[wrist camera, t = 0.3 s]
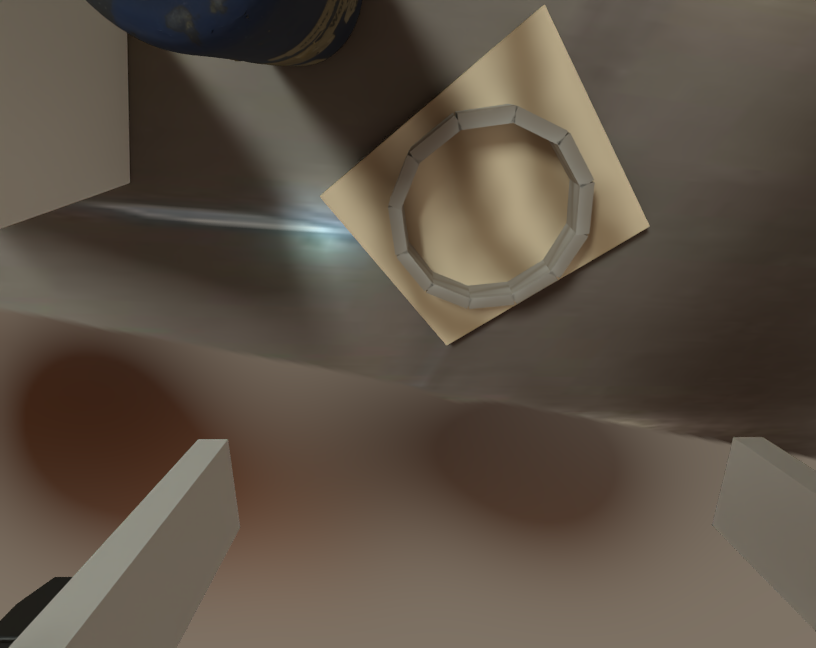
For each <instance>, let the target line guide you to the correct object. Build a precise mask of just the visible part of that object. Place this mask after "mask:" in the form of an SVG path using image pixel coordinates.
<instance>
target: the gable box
mask: <svg viewBox="0 0 816 648" xmlns="http://www.w3.org/2000/svg"><path fill="white" fill-rule="evenodd" d="M128 183H130V152H129V101H128V51H127V32H125V31H123V30H122V29H120V28H119V27H117V26H116V25H114V24H113V23H112V22H110V21H109V20H108V19H106V18H105V17H104V16H102V15H101V14H100V13H99V12H98V11H97V10H96V9H94V8H93V7H92V6H91V5H90V4H89V3H88V2H87V1H86V0H0V229H2V228H5V227H8V226H11V225H14V224H16V223H19V222H22V221H25V220H28V219H31V218H33V217H36V216H39V215H42V214H45V213H47V212H50V211H53V210H56V209H59V208H62V207H64V206H67V205H70V204H73V203H76V202H78V201H81V200H84V199H87V198H90V197H93V196H95V195H98V194H101V193H104V192H107V191H110V190H112V189H115V188H118V187H121V186H124V185H126V184H128Z"/></svg>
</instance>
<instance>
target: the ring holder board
mask: <svg viewBox="0 0 816 648" xmlns="http://www.w3.org/2000/svg"><path fill="white" fill-rule="evenodd" d="M320 197H321V199H322V200H323V201H324V202H325V203H326V205H327V206H328V207H329V208H330V209H331V210H332V212H333V213H334V214H335V215H336V216H337V217H338V219H339V220H340V221H341V222H342V223H343V224H344V226H345V227H346V228H347V229H348V230H349V232H350V233H351V234H352V235H353V236H354V237H355V239H356V240H357V241H358V242H359V243H360V244H361V246H362V247H363V248H364V249H365V250H366V251H367V253H368V254H369V255H370V256H371V257H372V258H373V260H374V261H375V262H376V263H377V264H378V266H379V267H380V268H381V269H382V270H383V271H384V273H385V274H386V275H387V276H388V277H389V278H390V280H391V281H392V282H393V283H394V284H395V285H396V287H397V288H398V289H399V290H400V291H401V292H402V294H403V295H404V296H405V297H406V298H407V300H408V301H409V302H410V303H411V304H412V305H413V307H414V308H415V309H416V310H417V311H418V312H419V314H420V315H421V316H422V317H423V318H424V319H425V321H426V322H427V323H428V324H429V325H430V326H431V328H432V329H433V330H434V331H435V332H436V334H437V335H438V336H439V337H440V338H441V339H442V341H443V342H444V343H445V344H446V345H448V344H450V343H452V342H453V341H455V340H457V339H459V338H460V337H462V336H464V335H465V334H467V333H469V332H471V331H472V330H474V329H476V328H477V327H479V326H481V325H482V324H484V323H486V322H488V321H489V320H491V319H493V318H494V317H496V316H498V315H500V314H501V313H503V312H505V311H506V310H508V309H510V308H511V307H513V306H515V305H517V304H518V303H520V302H522V301H523V300H525V299H527V298H528V297H530V296H532V295H534V294H535V293H537V292H539V291H540V290H542V289H544V288H546V287H547V286H549V285H551V284H552V283H554V282H556V281H557V280H559V279H561V278H563V277H564V276H566V275H568V274H569V273H571V272H573V271H575V270H576V269H578V268H580V267H581V266H583V265H585V264H586V263H588V262H590V261H592V260H593V259H595V258H597V257H598V256H600V255H602V254H603V253H605V252H607V251H609V250H610V249H612V248H614V247H615V246H617V245H619V244H621V243H622V242H624V241H626V240H627V239H629V238H631V237H632V236H634V235H636V234H638V233H639V232H641V231H643V230H644V229H646V228H648V227H650V226H649V224H648V222H647V220H646V217H645V215H644V213H643V211H642V209H641V207H640V205H639V203H638V201H637V198H636V196H635V194H634V192H633V190H632V188H631V186H630V184H629V182H628V179H627V177H626V175H625V173H624V171H623V169H622V167H621V165H620V163H619V160H618V158H617V156H616V154H615V152H614V150H613V148H612V146H611V144H610V141H609V139H608V137H607V135H606V133H605V131H604V129H603V127H602V124H601V122H600V120H599V118H598V116H597V114H596V112H595V110H594V108H593V105H592V103H591V101H590V99H589V97H588V95H587V93H586V91H585V89H584V86H583V84H582V82H581V80H580V78H579V76H578V74H577V72H576V70H575V67H574V65H573V63H572V61H571V59H570V57H569V55H568V53H567V51H566V48H565V46H564V44H563V42H562V40H561V38H560V36H559V34H558V32H557V29H556V27H555V25H554V23H553V21H552V19H551V17H550V15H549V13H548V10H547V8H546V6H545V5H544V6H542V7H540V8H539V9H538V10H537V11H536V12H534V13H533V14H532V15H531V16H530V17H529V18H527V19H526V20H525V21H524V22H523V23H522V24H520V25H519V26H518V27H517V28H516V29H515V30H513V31H512V32H511V33H510V34H509V35H508V36H506V37H505V38H504V39H503V40H502V41H501V42H499V43H498V44H497V45H496V46H495V47H493V48H492V49H491V50H490V51H489V52H488V53H486V54H485V55H484V56H483V57H482V58H481V59H479V60H478V61H477V62H476V63H475V64H474V65H472V66H471V67H470V68H469V69H468V70H467V71H465V72H464V73H463V74H462V75H461V76H460V77H458V78H457V79H456V80H455V81H454V82H452V83H451V84H450V85H449V86H448V87H447V88H445V89H444V90H443V91H442V92H441V93H440V94H438V95H437V96H436V97H435V98H434V99H433V100H431V101H430V102H429V103H428V104H427V105H426V106H424V107H423V108H422V109H421V110H420V111H419V112H417V113H416V114H415V115H414V116H413V117H412V118H410V119H409V120H408V121H407V122H406V123H404V124H403V125H402V126H401V127H400V128H399V129H397V130H396V131H395V132H394V133H393V134H392V135H390V136H389V137H388V138H387V139H386V140H385V141H383V142H382V143H381V144H380V145H379V146H378V147H376V148H375V149H374V150H373V151H372V152H371V153H369V154H368V155H367V156H366V157H365V158H363V159H362V160H361V161H360V162H359V163H358V164H356V165H355V166H354V167H353V168H352V169H351V170H349V171H348V172H347V173H346V174H345V175H344V176H342V177H341V178H340V179H339V180H338V181H337V182H335V183H334V184H333V185H332V186H331V187H330V188H328V189H327V190H326V191H325V192H324V193H323V194H322V195H321V196H320Z"/></svg>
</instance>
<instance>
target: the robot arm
mask: <svg viewBox="0 0 816 648" xmlns="http://www.w3.org/2000/svg"><path fill="white" fill-rule="evenodd" d="M712 526H713V527H714V528H715V529H716V530H717V531H718V532H719V533H720V534H721V535H722V536H723V537H724V538H725V539H726V540H727V541H728V542H729V543H730V544H731V545H732V546H733V547H734V548H735V549H736V550H737V551H738V552H739V553H740V554H741V555H742V556H743V557H744V558H745V559H746V561H748V563H749V564H750V565H751V566H752V567H753V568H754V569H755V570H756V571H757V572H758V573H759V574H760V575H761V576H762V577H763V578H764V579H765V580H766V581H767V582H768V583H769V584H770V585H771V586H772V587H773V588H774V589H775V590H776V591H777V592H778V593H779V594H780V595H781V596H782V597H783V598H784V600H786V602H788V604H789V605H790V606H791V607H792V608H793V609H794V610H795V611H796V612H797V613H798V614H799V615H800V616H801V617H802V618H803V619H804V620H805V621H806V622H807V623H808V624H809V625H810V626H811V627H812V628H813V629H814V630H815V631H816V471H815V470H814V469H812V468H811V467H809V466H807V465H806V464H804V463H803V462H801V461H800V460H798V459H796V458H795V457H793V456H792V455H790V454H789V453H787V452H785V451H784V450H782V449H781V448H779V447H777V446H776V445H774V444H773V443H771V442H770V441H768V440H766V439H765V438H763V437H733V441H732V445H731V449H730V453H729V457H728V461H727V465H726V469H725V473H724V478H723V482H722V486H721V490H720V494H719V498H718V502H717V506H716V510H715V515H714V519H713V523H712ZM239 528H240V523H239V516H238V509H237V501H236V494H235V487H234V480H233V473H232V465H231V458H230V451H229V444H228V439H216V440H215V439H207V440H206V439H205V440H204V439H200V440H197V442H196V443H195V444H194V445H193V446H192V447H191V448H190V449H189V450H188V451H187V452H186V453H185V455H184V456H183V457H182V458H181V459H180V460H179V461H178V462H177V463H176V464H175V466H174V467H173V468H172V469H171V470H170V471H169V472H168V473H167V474H166V475H165V477H164V478H163V479H162V480H161V481H160V482H159V483H158V484H157V485H156V486H155V487H154V489H153V490H152V491H151V492H150V493H149V494H148V495H147V496H146V498H144V500H143V501H142V502H141V503H140V504H139V505H138V506H137V507H136V508H135V510H134V511H133V512H132V513H131V514H130V515H129V516H128V517H127V518H126V519H125V520H124V522H123V523H122V524H121V525H120V526H119V527H118V528H117V529H116V530H115V531H114V533H113V534H112V535H111V536H110V537H109V538H108V539H107V540H106V541H105V542H104V543H103V545H102V546H101V547H100V548H99V549H98V550H97V551H96V552H95V553H94V554H93V555H92V557H91V558H90V559H89V560H88V561H87V562H86V563H85V564H84V565H83V566H82V568H81V569H80V570H79V571H78V572H77V573H76V574H75V575H74V576H73V577H55V578H53V579H52V580H50V581H49V582H47V583H46V584H44V585H43V586H42V587H40V588H39V589H37V590H36V591H34V592H33V593H32V594H30V595H29V596H27V597H26V598H25V599H23V600H22V601H20V602H19V603H18V604H16V605H15V607H13V608H12V609H11V610H10V612H8V614H6V616H5V617H4V618H3V619H2V620H1V621H0V648H177V646H178V644H179V642H180V641H181V639H182V637H183V635H184V633H185V631H186V629H187V627H188V625H189V623H190V622H191V620H192V617H193V616H194V614H195V612H196V610H197V608H198V606H199V605H200V603H201V601H202V599H203V597H204V595H205V593H206V591H207V589H208V587H209V586H210V584H211V582H212V580H213V578H214V576H215V574H216V572H217V570H218V568H219V566H220V565H221V563H222V561H223V559H224V557H225V555H226V553H227V551H228V549H229V547H230V545H231V544H232V542H233V540H234V538H235V536H236V534H237V532H238V530H239Z"/></svg>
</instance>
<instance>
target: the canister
mask: <svg viewBox="0 0 816 648" xmlns="http://www.w3.org/2000/svg"><path fill="white" fill-rule="evenodd" d="M86 1H87V2H88V3H89V4H90V5H91V6H92V7H93V8H94V9H96V10H97V11H98V12H99V13H100V14H101V15H102V16H104V17H105V18H106V19H108V20H109V21H110V22H112V23H113V24H114V25H116V26H117V27H119V28H120V29H122V30H123V31H125V32H127V33H129V34H130V35H132V36H134V37H136V38H137V39H139V40H141V41H144V42H146V43H148V44H150V45H153V46H156V47H158V48H161V49H164V50H168V51H172V52H177V53H182V54H189V55H198V56H208V57H216V58H225V59H231V60H235V61H246V62H251V63H257V64H267V65H278V66H307V65H312V64H316V63H319V62H321V61H324V60H326V59H327V58H329V57H330V56H331V55H333V54H334V53H335V52H336V51H338V50H339V49H340V48H341V47H342V46H343V44H344V43H345V42H346V41H347V39H348V38H349V36H350V34H351V33H352V31H353V29H354V27H355V24H356V22H357V19H358V16H359V13H360V9H361V4H362V0H86Z"/></svg>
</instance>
